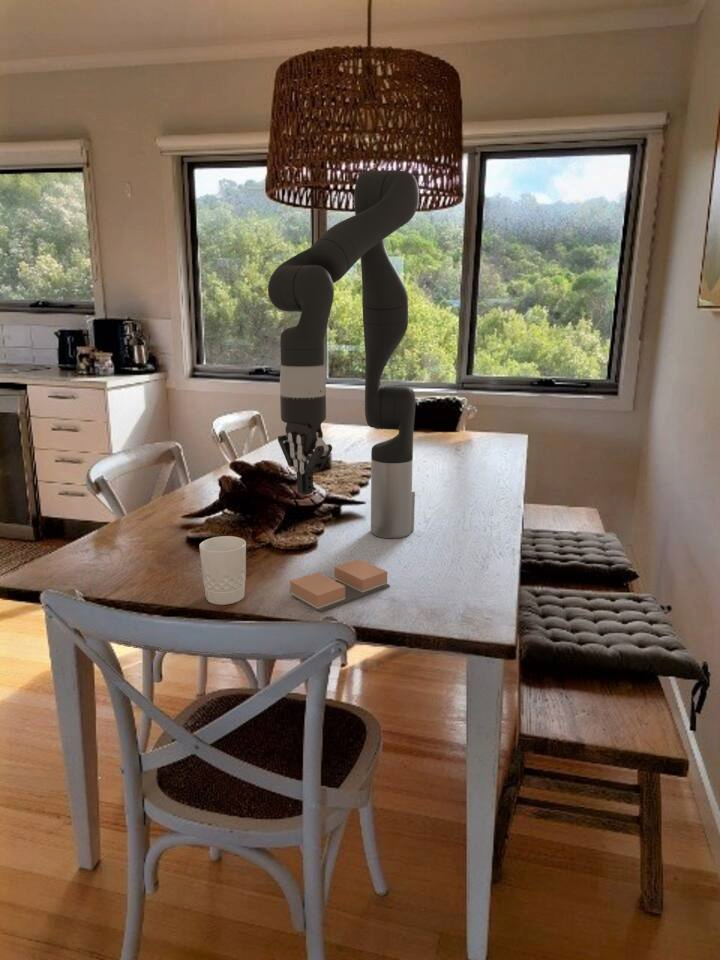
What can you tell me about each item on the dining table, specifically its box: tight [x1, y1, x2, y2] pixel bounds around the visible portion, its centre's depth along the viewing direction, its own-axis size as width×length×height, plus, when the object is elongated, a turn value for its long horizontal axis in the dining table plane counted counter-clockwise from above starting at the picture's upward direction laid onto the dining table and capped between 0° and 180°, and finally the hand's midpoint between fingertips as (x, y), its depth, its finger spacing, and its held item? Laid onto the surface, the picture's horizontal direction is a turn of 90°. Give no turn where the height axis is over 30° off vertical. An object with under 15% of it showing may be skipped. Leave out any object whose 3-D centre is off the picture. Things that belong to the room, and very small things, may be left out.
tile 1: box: [289, 572, 345, 609], centre depth 112 cm, size 6×2×8 cm
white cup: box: [199, 535, 247, 606], centre depth 111 cm, size 8×8×10 cm
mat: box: [292, 579, 391, 614], centre depth 115 cm, size 16×8×1 cm, turn 131°
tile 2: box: [333, 558, 388, 593], centre depth 118 cm, size 6×2×8 cm
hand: (305, 493), depth 110 cm, fingers closed
